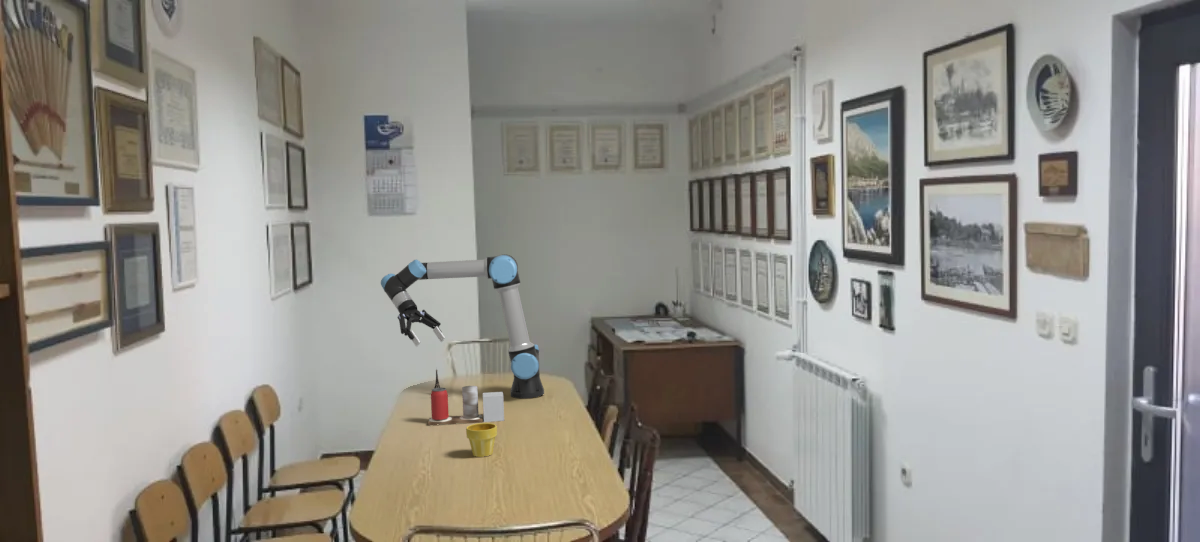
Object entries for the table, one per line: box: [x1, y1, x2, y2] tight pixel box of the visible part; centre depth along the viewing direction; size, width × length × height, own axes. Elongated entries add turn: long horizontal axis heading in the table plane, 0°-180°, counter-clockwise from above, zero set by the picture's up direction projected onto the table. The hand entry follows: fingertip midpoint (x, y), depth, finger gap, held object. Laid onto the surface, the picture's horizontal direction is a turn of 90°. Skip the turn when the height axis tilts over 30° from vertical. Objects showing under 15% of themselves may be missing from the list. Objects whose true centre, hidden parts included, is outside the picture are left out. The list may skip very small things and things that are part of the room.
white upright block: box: [482, 391, 505, 423], centre depth 345 cm, size 8×8×10 cm
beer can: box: [430, 387, 450, 421], centre depth 342 cm, size 7×7×12 cm
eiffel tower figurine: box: [433, 367, 441, 389], centre depth 394 cm, size 15×10×13 cm
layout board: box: [427, 385, 484, 426], centre depth 342 cm, size 21×9×13 cm, turn 98°
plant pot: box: [465, 422, 498, 458], centre depth 294 cm, size 10×10×10 cm
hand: (430, 342), depth 358 cm, fingers open, 13 cm apart
